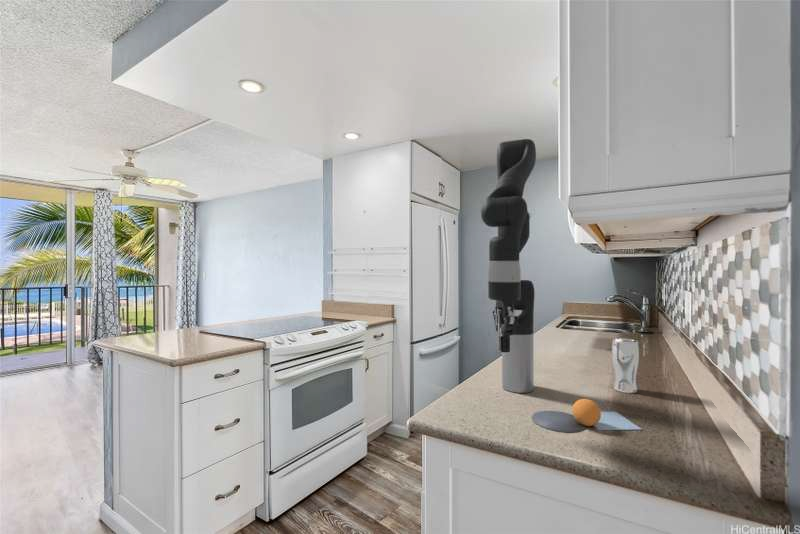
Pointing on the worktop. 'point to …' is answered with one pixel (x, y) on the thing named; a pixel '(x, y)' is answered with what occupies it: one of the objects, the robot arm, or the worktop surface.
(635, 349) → the beer glass
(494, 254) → the robot arm
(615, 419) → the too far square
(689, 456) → the worktop surface
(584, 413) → the ball
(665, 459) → the worktop surface
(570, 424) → the disc
